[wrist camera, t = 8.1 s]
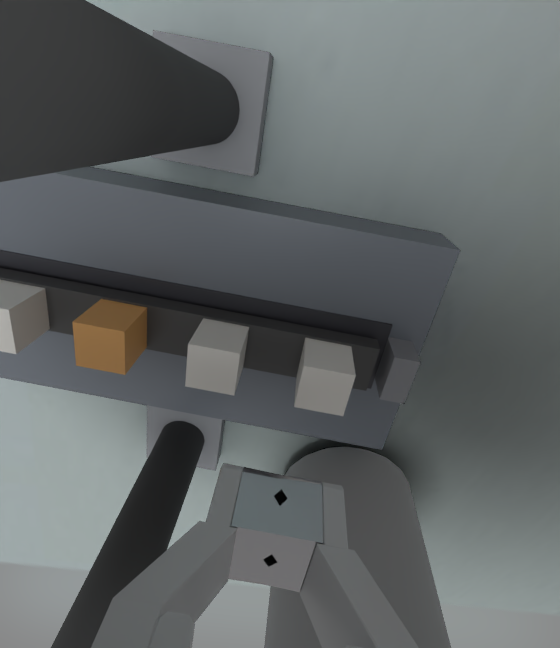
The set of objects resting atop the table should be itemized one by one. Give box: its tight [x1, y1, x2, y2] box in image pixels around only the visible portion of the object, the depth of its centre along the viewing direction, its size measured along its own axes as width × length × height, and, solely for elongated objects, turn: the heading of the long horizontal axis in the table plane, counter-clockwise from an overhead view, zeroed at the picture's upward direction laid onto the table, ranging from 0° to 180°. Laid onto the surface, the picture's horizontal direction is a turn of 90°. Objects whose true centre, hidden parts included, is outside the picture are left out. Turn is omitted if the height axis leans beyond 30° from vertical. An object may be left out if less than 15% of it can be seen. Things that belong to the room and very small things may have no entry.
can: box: [264, 446, 451, 648], centre depth 18 cm, size 8×8×12 cm
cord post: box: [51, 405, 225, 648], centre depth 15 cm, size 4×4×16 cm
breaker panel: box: [0, 167, 460, 450], centre depth 17 cm, size 20×10×4 cm, turn 81°
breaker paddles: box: [0, 268, 380, 416], centre depth 15 cm, size 16×2×3 cm, turn 80°
